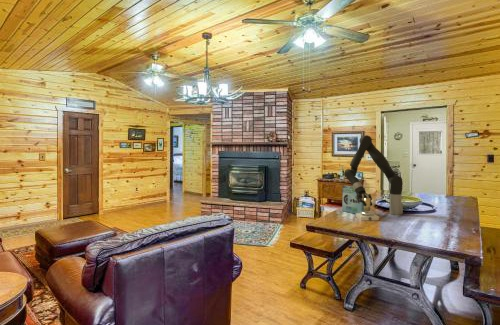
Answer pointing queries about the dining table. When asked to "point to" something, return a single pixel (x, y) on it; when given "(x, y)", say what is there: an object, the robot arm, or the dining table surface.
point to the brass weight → (367, 201)
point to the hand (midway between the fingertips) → (368, 205)
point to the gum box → (351, 201)
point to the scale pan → (367, 212)
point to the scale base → (367, 217)
